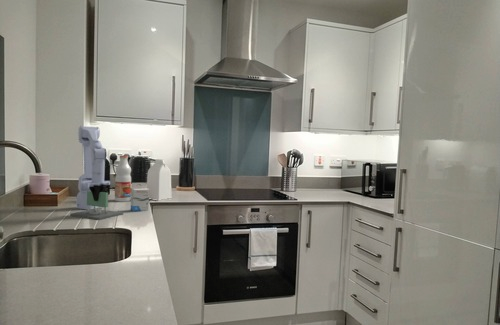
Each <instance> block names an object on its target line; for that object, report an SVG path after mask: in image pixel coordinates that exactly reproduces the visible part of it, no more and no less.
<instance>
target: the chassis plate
mask: <svg viewBox="0 0 500 325" xmlns="http://www.w3.org/2000/svg"><path fill="white" fill-rule="evenodd" d="M96 207H97V206H94V209H90V207H88V210H83V211H82V210H81V211H78V212H73V213H72V212H71V213H70V214H69V215H70V217H76V218H84V219H90V220H98V221H100V220H105V219H108V218H109V219H110V218H113V217H118V216H122V215H124V212H121V211H116V210H115V211H114V210H109V209H108V207H106V208H105V207H104V209H102V207H99V208H96Z"/></svg>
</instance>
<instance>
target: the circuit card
mask: <svg viewBox="0 0 500 325" xmlns="http://www.w3.org/2000/svg"><path fill="white" fill-rule="evenodd" d="M87 205H89V206H96V207H99V208H104V209H105V208H106V207H107V208H108V207H109V192H105V191H104V192H99V199H98V201H94V198H93V195H92V192H91V191H87Z"/></svg>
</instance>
